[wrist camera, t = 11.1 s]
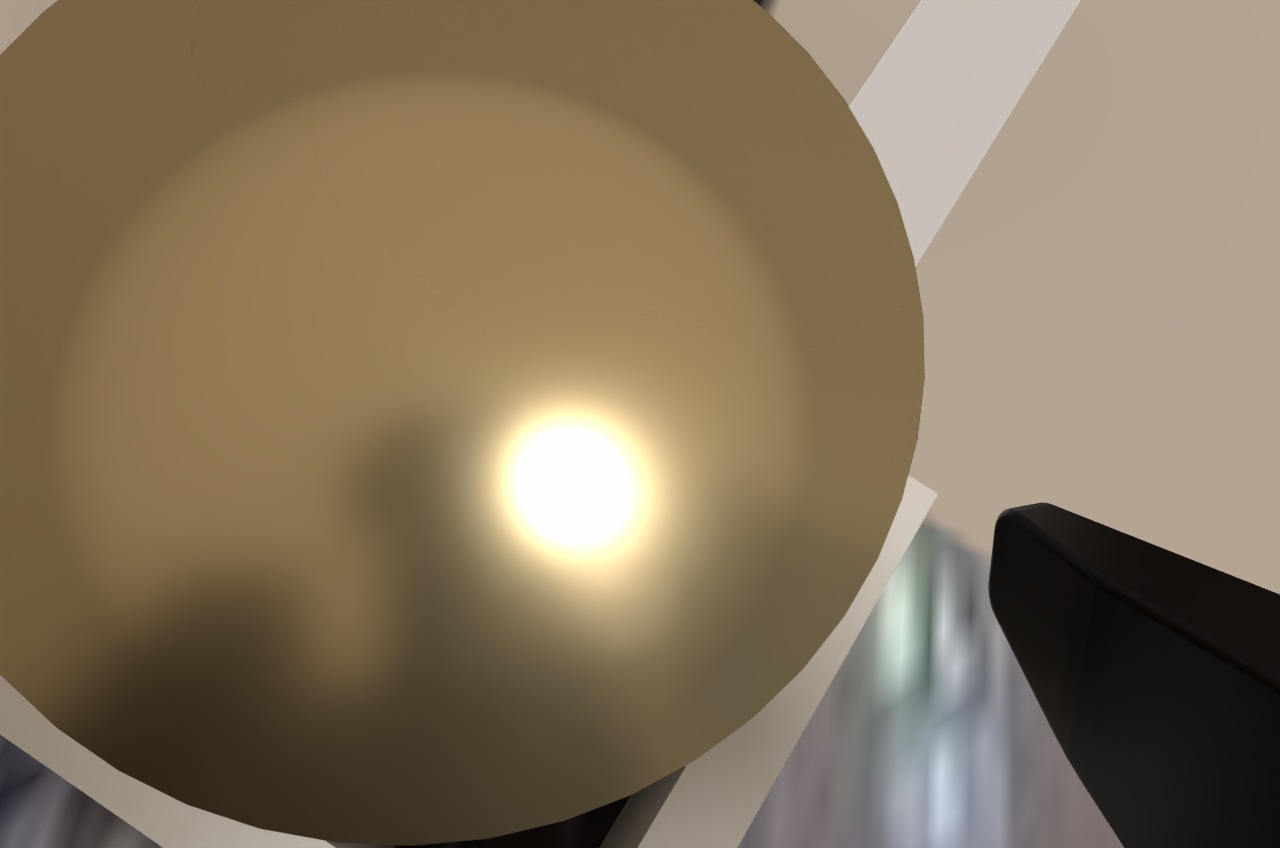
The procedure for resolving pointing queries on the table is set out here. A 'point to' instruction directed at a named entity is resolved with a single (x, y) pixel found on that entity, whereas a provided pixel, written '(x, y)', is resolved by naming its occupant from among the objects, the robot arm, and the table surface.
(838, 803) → the table surface
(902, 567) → the table surface
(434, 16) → the coupler
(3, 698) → the socket
